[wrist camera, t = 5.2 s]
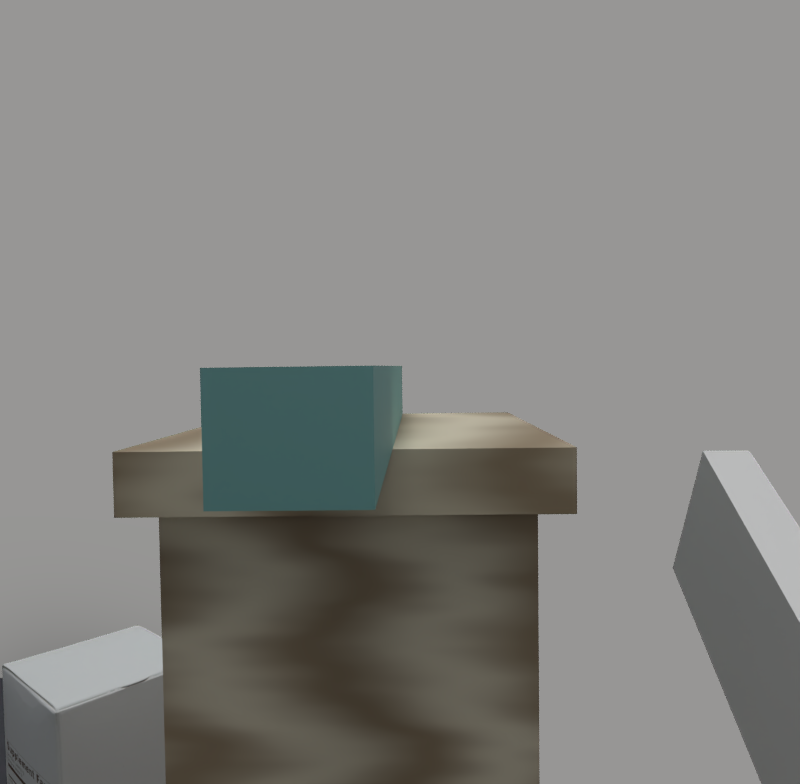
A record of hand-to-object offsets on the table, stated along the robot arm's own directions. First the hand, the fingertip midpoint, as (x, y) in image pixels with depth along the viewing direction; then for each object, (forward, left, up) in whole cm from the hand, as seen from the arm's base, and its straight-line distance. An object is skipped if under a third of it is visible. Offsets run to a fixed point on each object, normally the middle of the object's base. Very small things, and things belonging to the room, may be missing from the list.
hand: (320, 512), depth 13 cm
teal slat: (-1, +12, 0) cm, 12 cm away
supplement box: (-18, +30, -30) cm, 46 cm away
